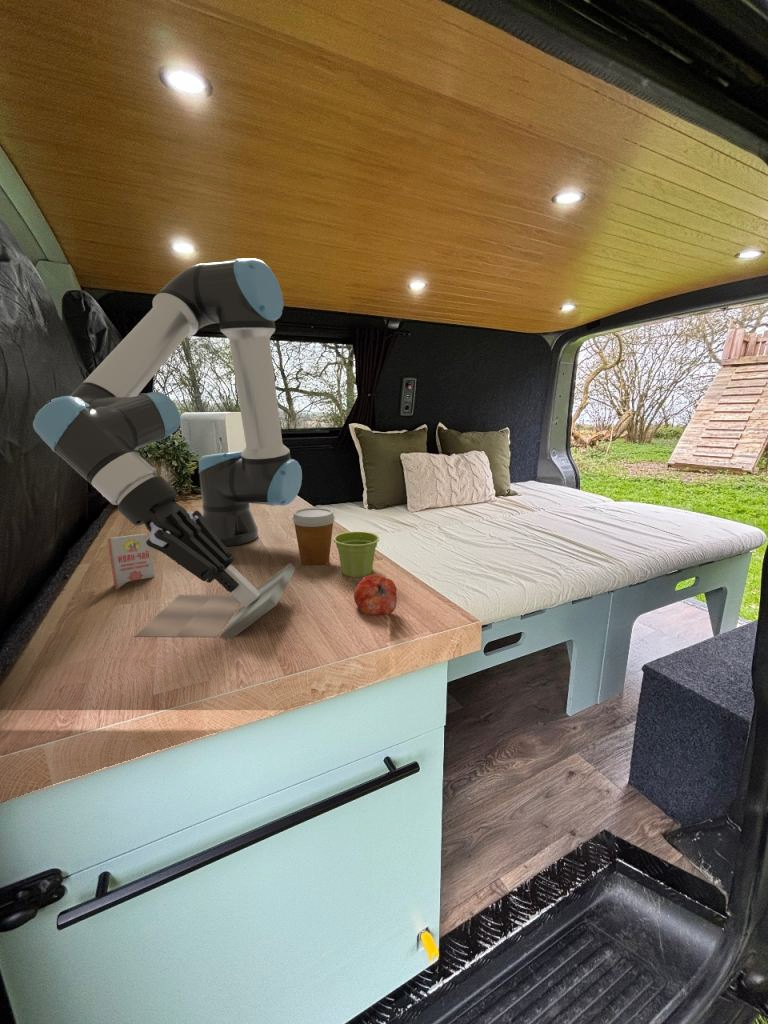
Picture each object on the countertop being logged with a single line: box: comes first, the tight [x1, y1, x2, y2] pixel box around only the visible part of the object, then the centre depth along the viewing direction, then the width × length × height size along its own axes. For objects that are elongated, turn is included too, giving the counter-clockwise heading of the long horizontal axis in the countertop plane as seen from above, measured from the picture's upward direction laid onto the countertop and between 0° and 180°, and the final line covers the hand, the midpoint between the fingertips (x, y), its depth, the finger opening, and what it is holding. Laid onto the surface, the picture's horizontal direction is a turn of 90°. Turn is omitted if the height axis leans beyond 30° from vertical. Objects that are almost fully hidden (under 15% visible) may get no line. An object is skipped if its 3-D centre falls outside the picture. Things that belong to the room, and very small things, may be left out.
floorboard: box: [134, 594, 241, 638], centre depth 67 cm, size 14×12×1 cm
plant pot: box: [333, 531, 380, 578], centre depth 85 cm, size 9×9×9 cm
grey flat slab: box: [219, 562, 296, 638], centre depth 66 cm, size 14×10×1 cm
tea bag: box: [107, 532, 155, 591], centre depth 80 cm, size 4×7×10 cm, turn 122°
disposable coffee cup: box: [291, 507, 336, 566], centre depth 92 cm, size 10×10×12 cm
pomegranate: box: [353, 573, 398, 616], centre depth 70 cm, size 7×7×10 cm
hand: (253, 600), depth 64 cm, fingers closed
